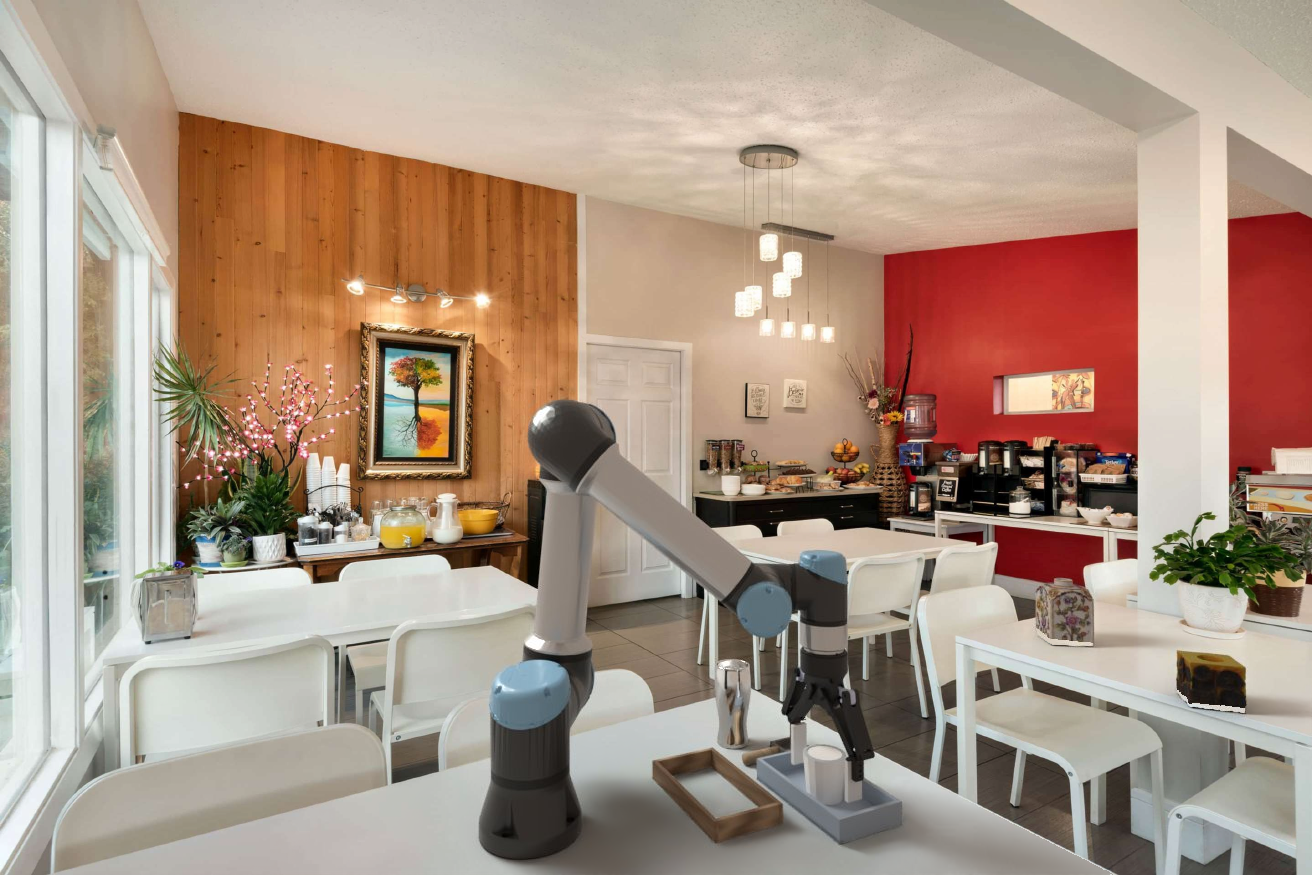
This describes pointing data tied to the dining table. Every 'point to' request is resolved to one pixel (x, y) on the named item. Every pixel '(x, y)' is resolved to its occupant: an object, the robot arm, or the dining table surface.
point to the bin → (834, 820)
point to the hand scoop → (767, 750)
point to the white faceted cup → (824, 772)
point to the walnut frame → (739, 822)
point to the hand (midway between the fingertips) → (824, 780)
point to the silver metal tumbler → (732, 702)
